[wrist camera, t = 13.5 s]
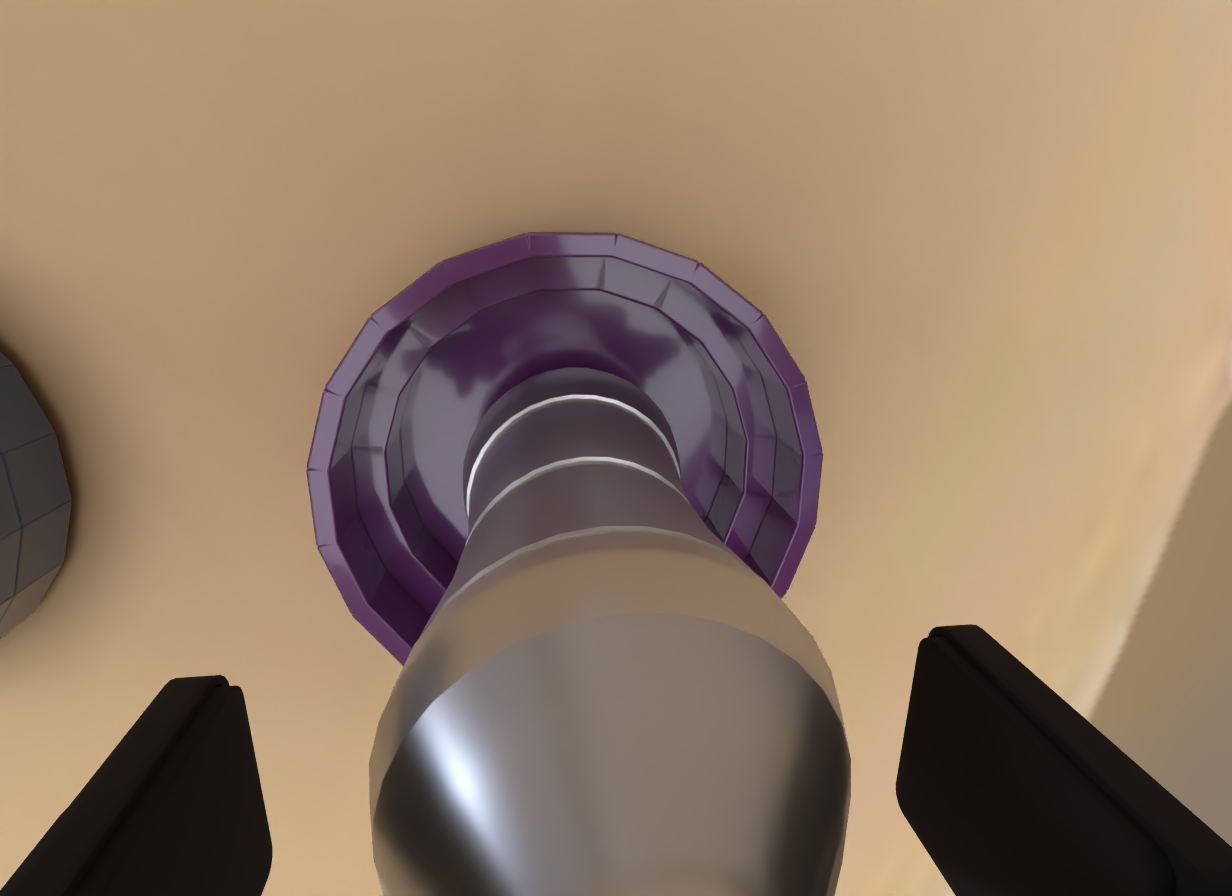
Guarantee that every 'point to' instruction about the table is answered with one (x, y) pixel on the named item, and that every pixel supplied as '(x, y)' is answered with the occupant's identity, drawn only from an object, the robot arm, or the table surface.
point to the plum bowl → (524, 347)
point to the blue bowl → (28, 501)
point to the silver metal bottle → (604, 683)
